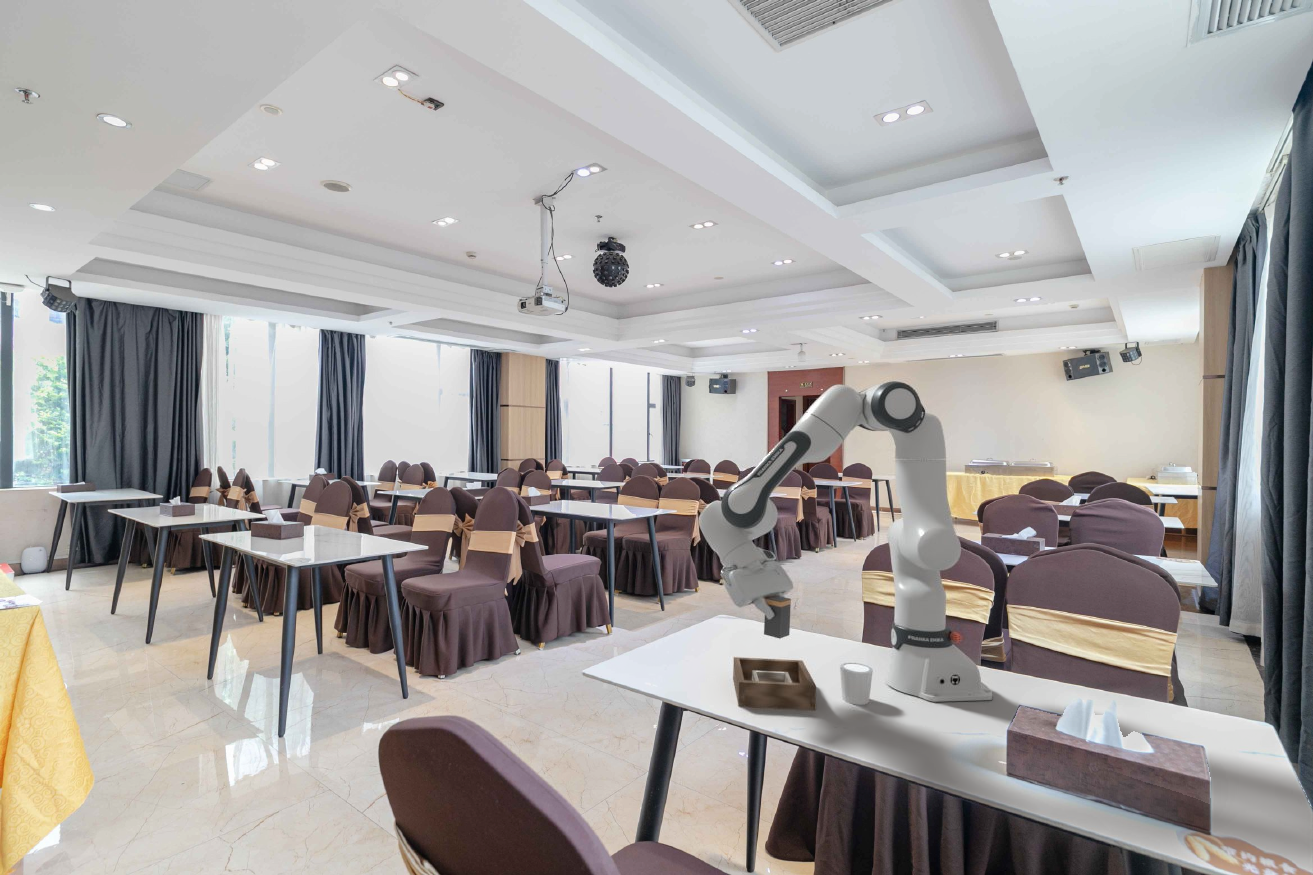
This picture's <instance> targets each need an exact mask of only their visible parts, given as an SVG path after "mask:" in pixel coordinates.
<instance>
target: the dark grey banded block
mask: <svg viewBox="0 0 1313 875" xmlns="http://www.w3.org/2000/svg"><path fill="white" fill-rule="evenodd" d="M791 601H792V599H791V598H790V597H786V596H784V597H781V596H776V595H775V596H771V597H767V598H765V603H766V604H767V605H768V606H769V607H770V608H773V609H774V610H775V612H776V613H777V615H776V616H775V617H774V618H772V619H768V618H767V617H766V615H765V614H764V626H763V627H764V629H763V635H765V636H768V637H773V638H776V639H782V638H785V637H788V636H790V631H791V630H790V629H791V628H790V627H791V625H790V624H791V604H792V602H791Z"/></svg>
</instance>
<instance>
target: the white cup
mask: <svg viewBox="0 0 1313 875" xmlns="http://www.w3.org/2000/svg"><path fill="white" fill-rule="evenodd" d="M839 670H840V672H839V673H840V687H841V688H840V689H841V698H842V700H843V701H844V702H845V703H848V704H852V705H857V706H862V705H863V706H864V705H867V704H869V702H870V697H871V689H872V682H873V681H872V680H873V679H872V678H873V668H872V667H870V666H869V665H867V664H863V663H857V662H844V663H840V665H839Z"/></svg>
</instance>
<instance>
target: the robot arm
mask: <svg viewBox="0 0 1313 875" xmlns="http://www.w3.org/2000/svg"><path fill="white" fill-rule="evenodd" d="M856 427H859V428H862V429H864V430H867V431H870V432H871V431H872V432H889V433H890V434H891V437H892V438H893V442H894V446H895V451H894V453H895V454H894V455H895V456H894V459H895V461H894V462H895V463H894V464H895V465H894V467H895V468H894V469H895V470H894V471H895V474H894V476H895V494H896V497H897V499H898V503H899V508H900V512H901V518H898V519H895V520H894V521H893V522H891V524H890V525H889V527H888V529H887V534H886V537H887V542H888V546H889V553H890V559H891V560H890V562H891V570H892V575H893V576H892V577H893V583H894V614H893V615H894V621H892V622H891V624H892V625H891V636H890V637H891V639H890V640H891V646H892V652H891V655H890V656H891V657H890V661H889V662H890V663H889V667H888V671H887V675H886V678H885V683H886V685H888V686H889V687H891V688H892V689H895V690H897V691H899V692H902V693H905V694H908V695H912V696H916V697H918V698H920V699H923V700H926V701H929V702H935V703H938V702H968V701H973V702H975V701H991V700H993V692H992V690H991V688H989V686H987V685H986V684H985V683H983V682H982V680H981V679H982V678H981V673H980V669H979V668H978V666H977V664H976V663H975V662H974V661H973V660H972V659H971V658H970V657H969V656H968V655H966V653H964V652H963V651H962V650H961V649H959V648H958V647H957V646H956V645H955V644H954V642H955V643H957V644H958V643H961V642H962V641H963V636H962V635H961V634H960V633H958V632H957V631H953V630H951V629H950V628H948V627H947V626H946V619H947V616H946V615H947V614H946V611H947V593H946V591H945V590H946V589H945V588H944V585H943V581H942V577H941V571H945V570H948V569H950V568H952V567H953V566H955V565H956V563H958V562H959V560H960V557H961V553H962V546H961V541H960V539H959V537H958V535H957V533H956V530H955V527H954V522H953V516H952V512H951V509H950V508H951V507H950V504H949V498H948V489H947V488H948V487H947V451H946V441H945V435H944V429H943V426H942V422H941V420H940V419H939V418H938V417H937V416H936V415H934V414H933V413H929V412H926V408H925V407H924V406H923V404H922V403H921V399H920V396H919V395H918V393H917V391H916V389H914V388H913V387H912V386H911V385H910V384H907V383H904V382H902V381H896V380H895V381H894V380H893V381H888V382H883V383H882V382H881V383H878V384H876V385H873V386H871V387H869V388H866V389H863V390H861V391H860V392H858V391H856V390H855V389H854V388H853V387H850V386H849V385H845V384H835V385H832V386H830V387H829V388H827V390H826V391H824V392H823V393H822V394H821V395H820V396H818V398H817V399H816V400H815V401H814V402H812V404H811V405H810V406H809V407H808V409H807V410H806V411H805V412H804V414H802V416H801V418H800V419H798V421H797V422H796V424H795V425H793V427H792V428H791V430H790V431H789V432H788V433H786V434H785V436H784V437H782V439H781V440H780V441H778V443H777V444H776V445H775V446H774V447H773V448H772V449H771V450H770V452H769V453H768V454H767V455H766V456H765V457H764V458H763V459H762V460H761V461H760V462H759V464H758V465H756V467H754V469H753V470H752V471H750V473H749V474H748V475H747V476H745V477H744V478H741V479H740V480H739V481H737V482H734V483H733V484H731V485H730V486H729V487H728V488H727V489H726V491H725V492H724V494H723V495H722V499H721V500H714V501H712V502H711V503H708V504H707V505H706V506H705V507H704V508H703V509H702V510H701V512H700V514H699V517H698V526H699V528H700V530H701V532H702V534H703V537H704V539H705V540H706V542H707V543H708V545H709V546H710V548H711V550H713V552H715V554H717V556H718V557H719V560H720V563H721V565H722V566H723V567H722V568H721V570H720V576H721V579H722V580H723V586H724V588H725V590H726V592H727V593H728V595H729V597H730V599H731V601H732V603H733V604H734V605H735V606H736V607H738V608H743V607H747V606H749V605H750V606H751V605H754V606H755V608H756V609H758V610H759V611H760V612H761V613H763V614H764V616H765V615H766V617H767V618H768V619H772V618H774V617H775V616H776V615H777V613H776V612H775V610H774V609H773V608H770V607H769V606H768V605H767V604H766V603H765V598H767V597H771V596H775V595H776V596H781V597H785V596H786V595H788V594H789V593H790V592H791V591H792V590H793V589H794V584H793V581H792V579H791V577H790V576H789V575H788V573H787V571H786V570H785V569H784V568H783V566H782V565H781V564H780V563H779V562H778V561H777V560H776V559H777V557H776V555H775V553H774V552H773V551H770V550H766V549H763V548H761V547H758V546H756V544H755V543H754V542H753V541H754V540H756V539H758V538H760V537H762V536H765V535H766V534H768V533H769V532H771V531H772V530H773V529H774V528H775V527H776V525H777V523H778V519H779V511H778V508H777V506H776V504H775V503H774V502H773V501H772V500H771V499H770V497H771V495H772V494H773V492H774V491H775V490H776V489H777V488H778V487H779V485H781V483H782V482H783V481H784V480H785V479H786V478H787V477H788V476H789V474H790V473H791V472H792V471H793V470H795V468H797V467H798V466H800V465H802V464H807V463H813V464H815V463H821V462H825V460H827V459H828V458H829V457H831V456H832V455H833V454H834V453H835V452H836V451H837V450H838V449H839V447H840V446H841V445H842V443H843V442H844V441H845V440H846V439H847V437H848V436H849V434H850V433H851V431H853V430H854V429H855V428H856Z"/></svg>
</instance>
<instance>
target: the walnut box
mask: <svg viewBox="0 0 1313 875" xmlns="http://www.w3.org/2000/svg"><path fill="white" fill-rule="evenodd" d="M732 666H733V668H732V670H733V672H732V673H733V674H732V681H733V686H734V689H735V690H734V691H735V696H736V700H737V706H738V707H749V708H750V707H752V708H765V709H766V708H767V709H787V710H788V709H789V710H806V711H809V710H810V711H816V709H817V708H816V706H817V704H816V703H817V684H816V683H815V681H814V680H813V677H812V676H811V674H810V672H809V670H808V668H807V666H806V665H805V663H804V661H803V659H802V660H799V659H797V660H796V659H779V658H761V657H760V658H757V657H756V658H755V657H740V656H739V657H738V656H737V657H735V656H733V665H732Z"/></svg>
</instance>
